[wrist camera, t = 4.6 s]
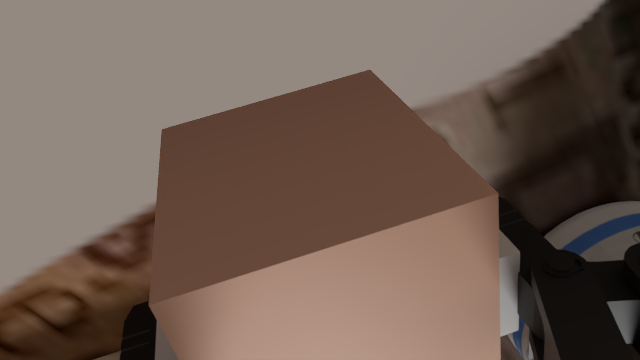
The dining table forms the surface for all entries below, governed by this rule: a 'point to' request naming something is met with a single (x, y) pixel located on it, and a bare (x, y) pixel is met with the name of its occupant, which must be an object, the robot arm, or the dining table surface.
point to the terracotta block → (323, 234)
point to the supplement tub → (591, 243)
